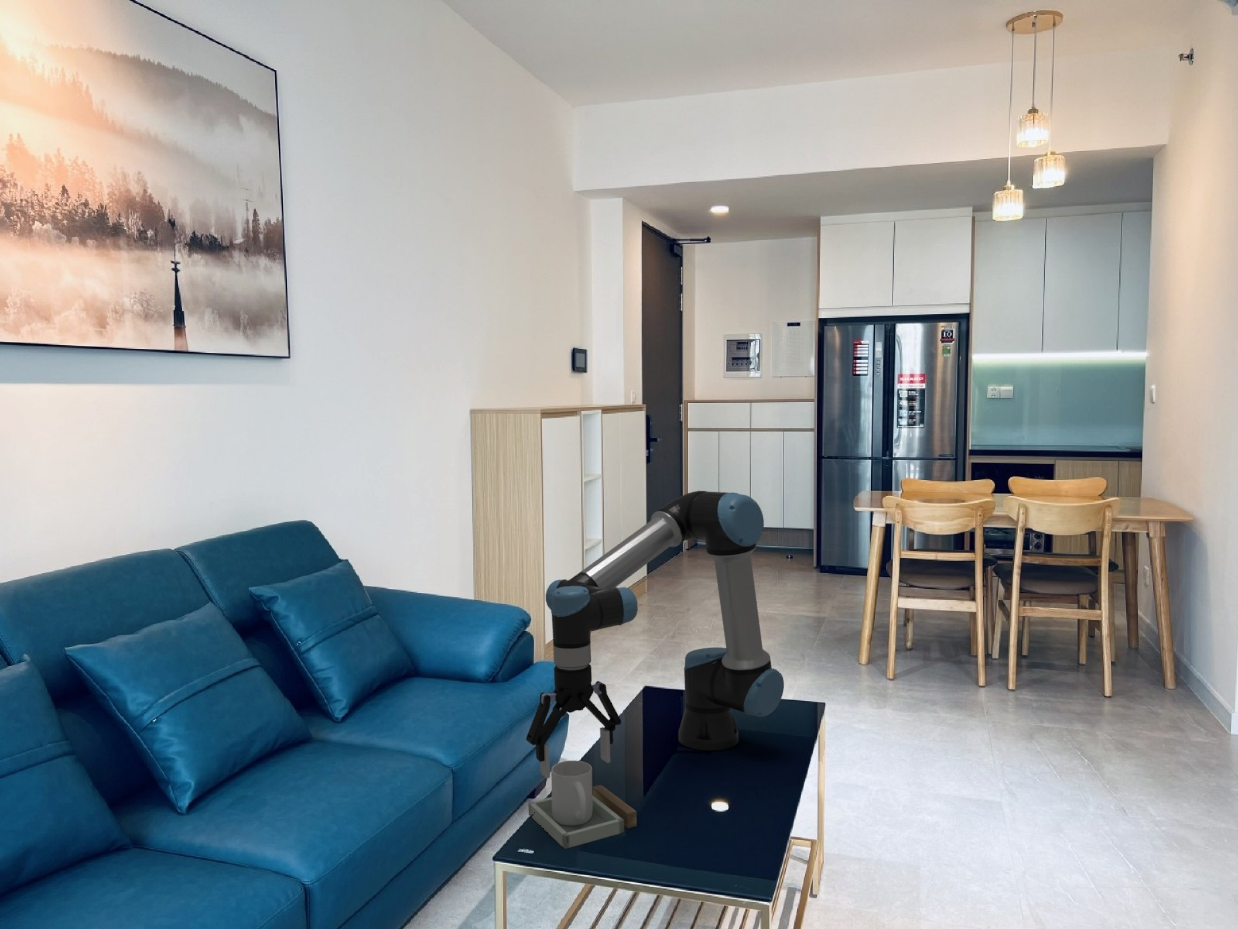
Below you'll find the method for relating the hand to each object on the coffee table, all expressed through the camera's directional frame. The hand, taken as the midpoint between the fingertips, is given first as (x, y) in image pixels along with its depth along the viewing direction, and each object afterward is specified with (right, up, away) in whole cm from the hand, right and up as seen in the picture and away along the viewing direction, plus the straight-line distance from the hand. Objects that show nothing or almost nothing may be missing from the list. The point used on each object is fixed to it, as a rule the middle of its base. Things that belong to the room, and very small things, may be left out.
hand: (576, 768), depth 177 cm
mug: (0, -11, 0) cm, 11 cm away
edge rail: (+8, -11, +5) cm, 14 cm away
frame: (0, -11, 0) cm, 11 cm away
